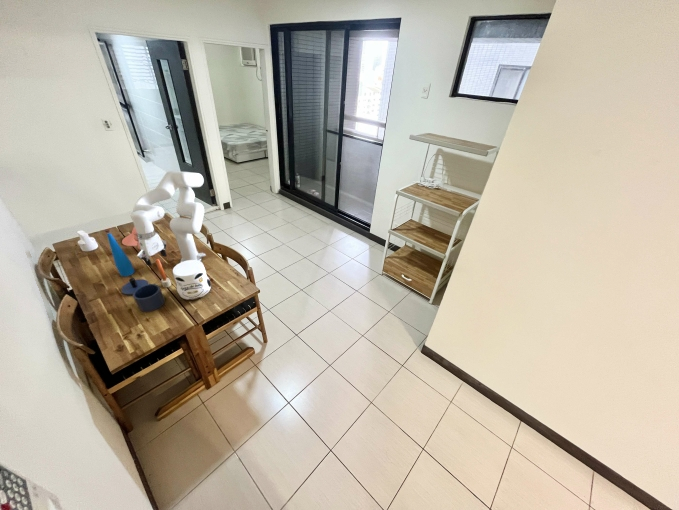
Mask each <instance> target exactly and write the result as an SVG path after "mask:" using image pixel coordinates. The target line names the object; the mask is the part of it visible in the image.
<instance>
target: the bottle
mask: <svg viewBox="0 0 679 510" xmlns="http://www.w3.org/2000/svg"><path fill="white" fill-rule="evenodd" d="M104 232H105V233H106V235H107V240H108V243H109V246H110V250H111V253H112V257H113V261H114V264H115V267H116V269H117V271H118V273H119V275H120V276H121V277H129V276H131V275H133V274H134V273H135V272H136V270H135V268H134V266H133V264H132V261H131V260H130V259H129V257H128V256H127V254H126V253H125V251H124V250H123V249H122V247H121V246H120V245H119V243H118V242H117V241H116V239H115V237H114V236H113V235H112V233H111V231H110V228H107V229H105V230H104Z"/></svg>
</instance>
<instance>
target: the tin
mask: <svg viewBox="0 0 679 510" xmlns="http://www.w3.org/2000/svg"><path fill="white" fill-rule="evenodd" d="M132 297H133V299H134V301H135V303H136V305H137V307H138V309H139V310H140V311H141V312H144V313H148V312H153V311H156V310H158V309H160V308H161V307H162V306H163V305H164V304H165V301H166V300H165V297H164V293H163V292H162V289H161V287H160V285H158V284H155V283H148V285H144V286H142V287H140V288H138V289H137V290H135V292H134V293H133V295H132Z"/></svg>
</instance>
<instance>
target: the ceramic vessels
mask: <svg viewBox="0 0 679 510" xmlns="http://www.w3.org/2000/svg"><path fill="white" fill-rule="evenodd" d="M137 236H138V234H137V231H136V228H135V226H133V228H132V230H131V233H129V234H128V235H126V236H125V237H124V238H123V239H122V241H121V243H122V245H124V246H127V247H137V249H138V250H139V251H141V249H140V245H139V239H138V238H137Z"/></svg>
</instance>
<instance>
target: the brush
mask: <svg viewBox="0 0 679 510" xmlns="http://www.w3.org/2000/svg"><path fill="white" fill-rule="evenodd" d="M155 264H156V266H157V269H158V271H159V273H160V276H161V280H160V283H161V286H162V287H163V288H164V289H165V288H169V287H171V286H172V281H171V279H170V277H167V276H166V273H165V271H164V270H165V269H164V268H163V264H162V263H161V260H160V259H159V258H156V259H155Z"/></svg>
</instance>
